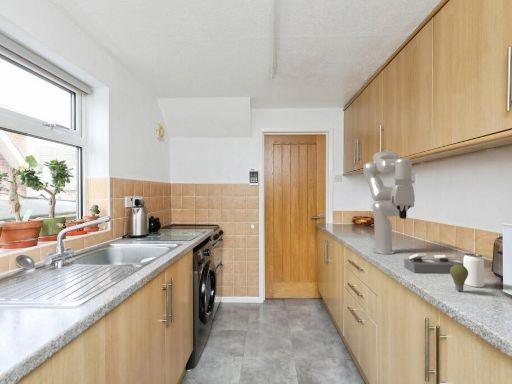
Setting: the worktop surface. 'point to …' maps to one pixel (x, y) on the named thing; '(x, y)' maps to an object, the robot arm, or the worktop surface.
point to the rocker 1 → (418, 255)
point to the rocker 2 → (443, 256)
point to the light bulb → (459, 276)
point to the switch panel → (430, 265)
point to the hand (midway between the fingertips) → (402, 218)
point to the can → (474, 270)
